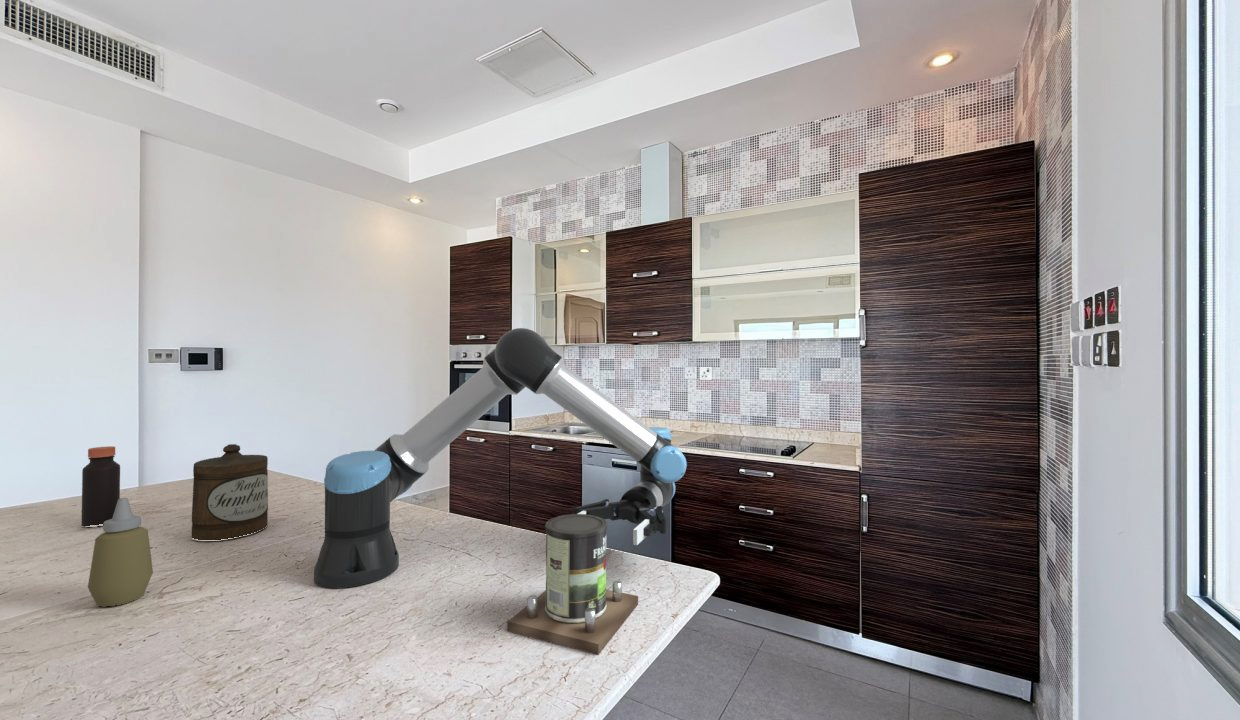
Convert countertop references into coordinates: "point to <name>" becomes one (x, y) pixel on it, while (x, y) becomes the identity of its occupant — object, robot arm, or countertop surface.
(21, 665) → the countertop surface
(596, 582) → the coffee can
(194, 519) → the wooden container
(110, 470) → the vinegar
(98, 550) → the squeeze bottle
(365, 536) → the robot arm
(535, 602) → the pin nest
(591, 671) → the countertop surface
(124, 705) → the countertop surface
